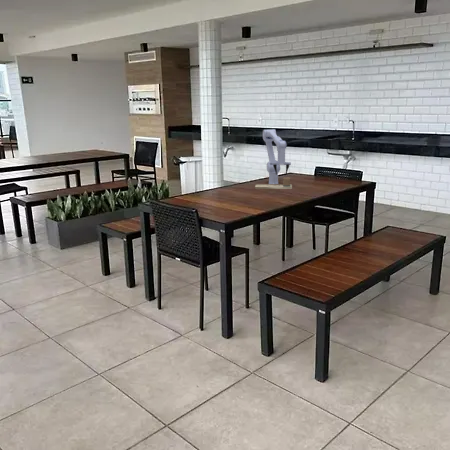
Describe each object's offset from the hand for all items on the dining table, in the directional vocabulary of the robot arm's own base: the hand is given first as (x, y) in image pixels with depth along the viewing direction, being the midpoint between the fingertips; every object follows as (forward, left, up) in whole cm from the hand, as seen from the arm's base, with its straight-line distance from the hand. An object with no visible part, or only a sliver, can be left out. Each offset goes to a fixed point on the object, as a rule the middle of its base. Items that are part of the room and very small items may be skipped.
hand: (281, 174), depth 371 cm
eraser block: (+6, +4, -8) cm, 11 cm away
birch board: (+6, -6, -9) cm, 13 cm away
